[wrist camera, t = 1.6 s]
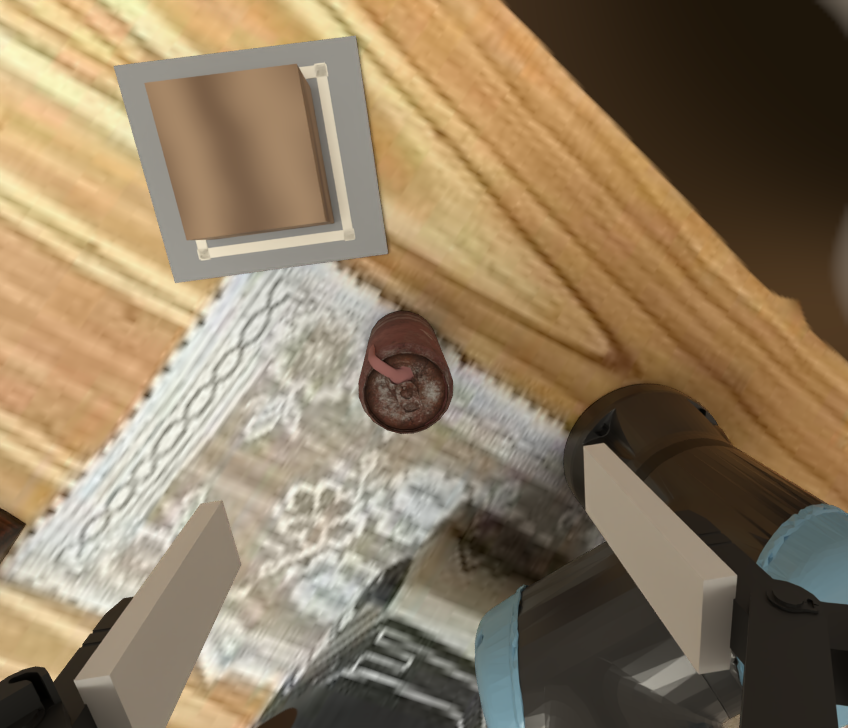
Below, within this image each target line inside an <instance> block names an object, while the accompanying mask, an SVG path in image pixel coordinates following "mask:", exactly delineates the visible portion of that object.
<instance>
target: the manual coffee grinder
mask: <svg viewBox="0 0 848 728" xmlns="http://www.w3.org/2000/svg"><path fill="white" fill-rule="evenodd" d="M25 525H26V524H24V523H23V522H21V521H20V520H18V519H17V518H15V517H13V516H12V515H10V514H9V513H7V512H6V511H4V510H2V509H0V563H1V562H2V560H3V559H4V558H5V556H6V555H7V553H8V552H9V550H10V549H11V547H12V545H13V544H14V542H15V541H16V539H17V538H18V536H19V534H20V533H21V531H22V530H23V528H24V526H25Z"/></svg>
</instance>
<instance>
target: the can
mask: <svg viewBox="0 0 848 728" xmlns="http://www.w3.org/2000/svg"><path fill="white" fill-rule="evenodd" d="M358 385H359V399H360V401H361V404H362V406H363V409H364V411H365V412H366V413H367V415H368V416H369V417H370V418H371V419H372V421H373V422H375V423H377V424H378V425H380V426H381V427H383V428H384V429H386V430H388V431H392V432H396V433H399V434H408V433H416V432H419V431H422V430H425V429H427V428H429V427H430V426H432V425H433V424H434V423H436V422H437V421H438V420H440V418H441V417H442V416H443V415H444V413H445V412H446V411H447V409H448V407H449V405H450V402H451V399H452V396H453V380H452V377H451V373H450V370H449V367H448V365H447V362H446V360H445V358H444V355H443V353H442V350H441V348H440V345H439V343H438V340H437V338H436V335H435V333H434V331H433V329H432V327H431V326H430V324H429V323H428V322H427V321H426V320H425V319H424V318H422V317H421V316H419V315H418V314H415V313H412V312H409V311H397V312H394V313H391V314H388V315H386V316H384V317H383V318H382V319H380V320H379V321H378V322H377V323H376V325H375V326H374V328H373V329H372V332H371V335H370V338H369V342H368V346H367V350H366V354H365V358H364V362H363V366H362V371H361V375H360V379H359V383H358Z"/></svg>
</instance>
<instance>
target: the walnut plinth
mask: <svg viewBox="0 0 848 728" xmlns="http://www.w3.org/2000/svg"><path fill="white" fill-rule="evenodd" d="M144 84H145V88H146V92H147V95H148V99H149V103H150V106H151V110H152V114H153V117H154V121H155V125H156V129H157V132H158V136H159V140H160V143H161V147H162V151H163V155H164V158H165V162H166V166H167V169H168V173H169V177H170V181H171V184H172V188H173V192H174V195H175V199H176V203H177V207H178V210H179V214H180V218H181V221H182V225H183V229H184V233H185V236H186V240H215V239H223V238H230V237H237V236H245V235H252V234H260V233H267V232H274V231H282V230H289V229H297V228H304V227H312V226H319V225H326V224H334V217H333V212H332V206H331V200H330V195H329V189H328V183H327V178H326V172H325V167H324V161H323V155H322V150H321V144H320V139H319V133H318V127H317V122H316V116H315V110H314V105H313V99H312V94H311V88H310V86H309V84H308V82H307V81H306V79H305V77H304V75H303V74H302V72H301V70H300V68H299V67H298V65H297V64H290V65H282V66H274V67H266V68H258V69H250V70H243V71H235V72H227V73H219V74H211V75H203V76H195V77H187V78H179V79H171V80H163V81H155V82H147V83H144Z"/></svg>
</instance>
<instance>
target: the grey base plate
mask: <svg viewBox="0 0 848 728" xmlns="http://www.w3.org/2000/svg"><path fill="white" fill-rule="evenodd" d="M290 64H297V65H298V67H299V68H300V70H301V72H302V74H303V75H304V77H305V79H306V81H307V82H308V84H309V86H310V88H311V94H312V99H313V105H314V110H315V116H316V122H317V127H318V133H319V139H320V144H321V150H322V155H323V161H324V167H325V172H326V178H327V183H328V189H329V195H330V200H331V206H332V212H333V217H334V224H326V225H319V226H312V227H304V228H297V229H289V230H282V231H274V232H267V233H260V234H252V235H245V236H237V237H230V238H223V239H215V240H186V236H185V233H184V229H183V225H182V221H181V218H180V214H179V210H178V207H177V203H176V199H175V195H174V192H173V188H172V184H171V181H170V177H169V173H168V169H167V166H166V162H165V158H164V155H163V151H162V147H161V143H160V140H159V136H158V132H157V129H156V125H155V121H154V117H153V114H152V110H151V106H150V103H149V99H148V95H147V92H146V88H145V84H144V83H147V82H155V81H163V80H171V79H179V78H187V77H195V76H203V75H211V74H219V73H227V72H235V71H243V70H250V69H258V68H266V67H274V66H282V65H290ZM114 69H115V73H116V76H117V80H118V83H119V87H120V90H121V94H122V97H123V101H124V104H125V108H126V112H127V115H128V119H129V122H130V126H131V129H132V133H133V136H134V140H135V143H136V147H137V150H138V154H139V157H140V161H141V164H142V168H143V171H144V175H145V178H146V182H147V186H148V189H149V193H150V196H151V200H152V203H153V207H154V210H155V214H156V217H157V221H158V224H159V228H160V231H161V235H162V238H163V242H164V245H165V249H166V252H167V256H168V260H169V263H170V267H171V270H172V274H173V277H174V281H175V283H179V282H186V281H193V280H200V279H208V278H215V277H222V276H230V275H237V274H244V273H252V272H259V271H266V270H273V269H281V268H288V267H295V266H303V265H310V264H317V263H325V262H332V261H339V260H347V259H354V258H361V257H368V256H376V255H383V254H388V248H387V242H386V235H385V228H384V222H383V215H382V208H381V201H380V195H379V188H378V181H377V174H376V168H375V161H374V154H373V148H372V141H371V134H370V127H369V121H368V114H367V107H366V100H365V94H364V87H363V80H362V74H361V67H360V60H359V53H358V47H357V40H356V36H350V37H342V38H334V39H326V40H318V41H310V42H302V43H294V44H286V45H278V46H270V47H262V48H254V49H246V50H238V51H230V52H222V53H214V54H206V55H198V56H190V57H182V58H174V59H166V60H158V61H150V62H142V63H134V64H126V65H118V66H114Z"/></svg>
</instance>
